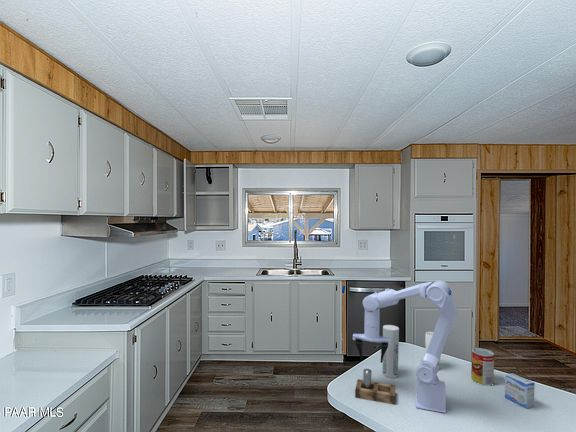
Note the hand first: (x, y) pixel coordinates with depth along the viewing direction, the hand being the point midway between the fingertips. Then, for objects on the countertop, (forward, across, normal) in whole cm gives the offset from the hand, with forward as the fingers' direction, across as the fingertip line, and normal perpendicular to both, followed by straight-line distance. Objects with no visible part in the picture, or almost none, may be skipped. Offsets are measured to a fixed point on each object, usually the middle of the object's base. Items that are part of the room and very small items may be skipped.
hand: (371, 360), depth 130 cm
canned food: (+11, -43, -20) cm, 49 cm away
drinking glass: (+11, -25, -26) cm, 38 cm away
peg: (+10, +1, +6) cm, 12 cm away
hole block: (+10, -2, +6) cm, 12 cm away
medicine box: (+11, -52, -7) cm, 54 cm away
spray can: (+11, -7, -13) cm, 18 cm away
